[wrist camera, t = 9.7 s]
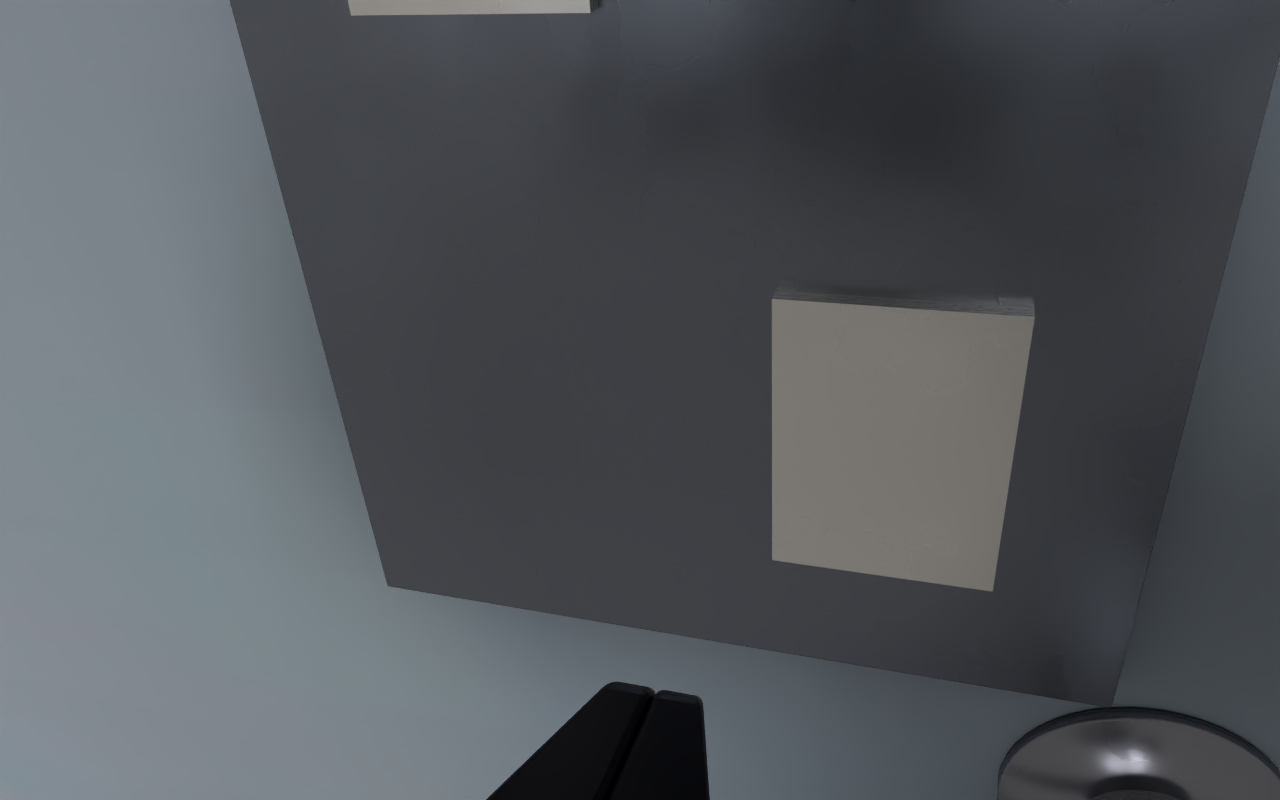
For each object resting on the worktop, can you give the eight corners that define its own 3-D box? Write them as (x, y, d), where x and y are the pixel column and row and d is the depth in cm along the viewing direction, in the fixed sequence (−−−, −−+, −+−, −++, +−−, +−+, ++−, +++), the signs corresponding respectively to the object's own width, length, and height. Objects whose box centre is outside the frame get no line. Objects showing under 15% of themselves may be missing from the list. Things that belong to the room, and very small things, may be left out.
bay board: (1108, 681, 18) (1112, 721, 17) (401, 567, 22) (380, 595, 21) (1493, -854, 8) (1539, -911, 8) (110, -564, 12) (54, -581, 12)
